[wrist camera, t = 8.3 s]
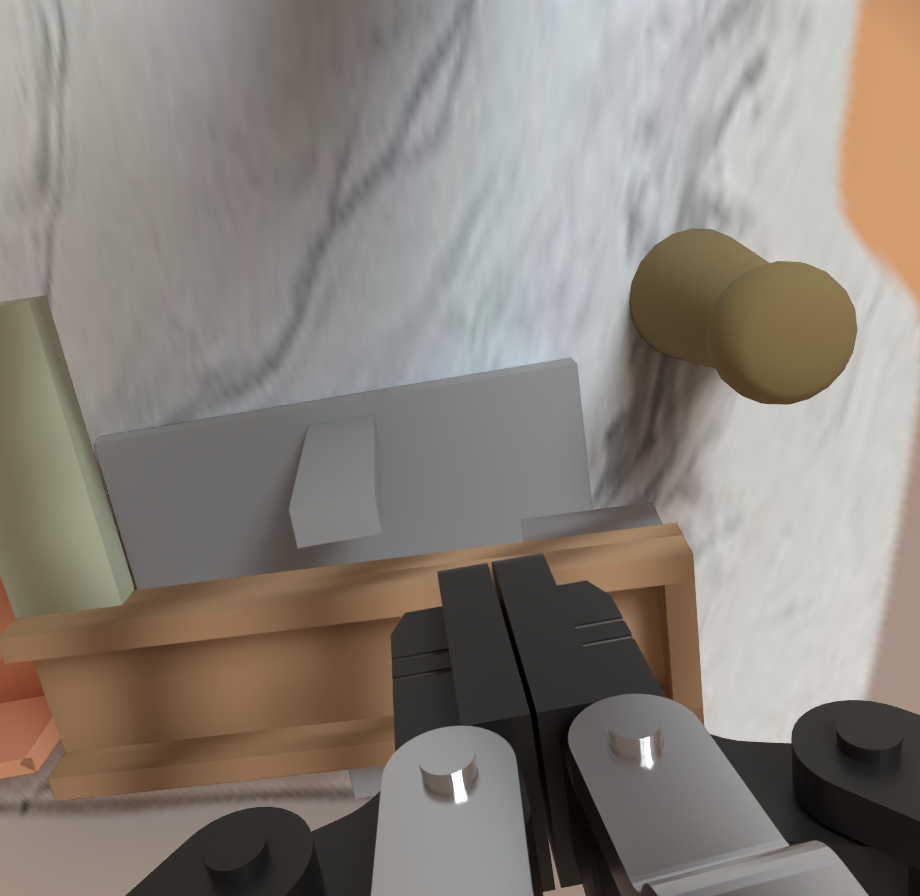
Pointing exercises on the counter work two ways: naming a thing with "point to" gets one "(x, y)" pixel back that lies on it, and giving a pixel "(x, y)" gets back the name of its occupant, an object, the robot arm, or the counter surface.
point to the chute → (249, 614)
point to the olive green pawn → (744, 316)
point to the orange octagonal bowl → (22, 711)
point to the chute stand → (350, 480)
